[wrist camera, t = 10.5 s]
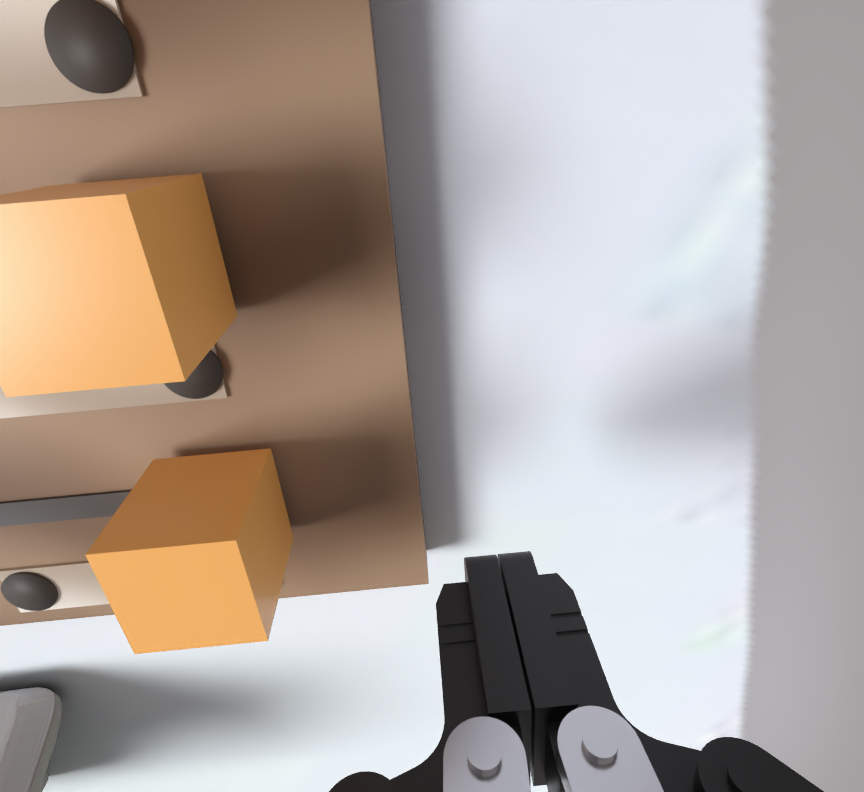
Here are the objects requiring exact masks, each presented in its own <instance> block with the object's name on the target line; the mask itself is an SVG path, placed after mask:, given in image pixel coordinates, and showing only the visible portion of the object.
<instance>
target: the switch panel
mask: <svg viewBox="0 0 864 792" xmlns="http://www.w3.org/2000/svg"><path fill="white" fill-rule="evenodd" d="M196 173H202V177H203V181H204V185H205V189H206V193H207V197H208V201H209V205H210V209H211V213H212V217H213V221H214V225H215V229H216V233H217V237H218V241H219V245H220V249H221V252H222V256H223V260H224V264H225V268H226V272H227V276H228V280H229V284H230V288H231V292H232V296H233V300H234V304H235V308H236V312H237V318H236V319H235V320H234V321H233V322H232V324H231V325H230V326H229V327H228V329H227V330H226V331H225V332H224V334H223V335H222V336H221V337H220V339H219V340H218V341H217V342H216V344H215V345H214V346H213V347H212V349H211V350H210V351H209V352H208V353H207V355H206V356H205V357H204V358H203V360H202V361H201V362H200V363H199V365H198V366H197V367H196V368H195V370H194V371H193V372H192V373H191V375H190V376H189V377H188V378H187V380H186V381H182V382H171V383H160V384H149V385H138V386H127V387H116V388H105V389H93V390H82V391H71V392H60V393H49V394H38V395H27V396H16V397H6V396H5V394H4V392H3V390H2V388H1V386H0V626H2V625H13V624H23V623H33V622H43V621H53V620H63V619H74V618H84V617H94V616H104V615H114V612H113V610H112V608H111V606H110V604H109V602H108V600H107V598H106V596H105V594H104V592H103V590H102V588H101V586H100V584H99V582H98V580H97V578H96V576H95V574H94V572H93V570H92V568H91V566H90V564H89V562H88V560H87V558H86V556H85V554H86V553H87V552H88V550H89V549H90V547H91V546H92V545H93V543H94V542H95V540H96V539H97V538H98V536H99V535H100V533H101V532H102V531H103V529H104V528H105V526H106V525H107V524H108V522H109V521H110V519H111V518H112V517H113V515H114V514H115V512H116V511H117V510H118V508H119V507H120V505H121V504H122V503H123V501H124V500H125V498H126V497H127V496H128V494H129V493H130V491H131V490H132V489H133V487H134V486H135V484H136V483H137V482H138V480H139V479H140V477H141V476H142V475H143V473H144V472H145V470H146V469H147V468H148V466H149V465H150V463H151V462H152V461H153V459H162V458H173V457H183V456H194V455H205V454H216V453H227V452H237V451H248V450H259V449H270V448H271V451H272V455H273V459H274V462H275V466H276V470H277V474H278V478H279V482H280V486H281V490H282V494H283V498H284V502H285V506H286V510H287V514H288V518H289V522H290V526H291V530H292V534H293V541H292V545H291V549H290V553H289V557H288V561H287V565H286V569H285V573H284V577H283V581H282V586H281V590H280V594H279V598H287V597H298V596H308V595H318V594H328V593H338V592H348V591H359V590H369V589H379V588H389V587H399V586H410V585H420V584H429V583H428V568H427V554H426V543H425V534H424V524H423V514H422V504H421V494H420V485H419V475H418V465H417V455H416V445H415V436H414V426H413V416H412V406H411V397H410V387H409V377H408V367H407V357H406V348H405V338H404V328H403V318H402V308H401V299H400V289H399V279H398V269H397V259H396V250H395V240H394V230H393V220H392V210H391V201H390V191H389V181H388V171H387V161H386V152H385V142H384V132H383V122H382V112H381V103H380V93H379V83H378V73H377V63H376V54H375V44H374V34H373V24H372V15H371V5H370V0H0V195H3V194H8V193H13V192H18V191H24V190H29V189H34V188H39V187H45V186H50V185H62V184H74V183H86V182H99V181H111V180H123V179H135V178H147V177H159V176H171V175H184V174H196Z"/></svg>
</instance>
